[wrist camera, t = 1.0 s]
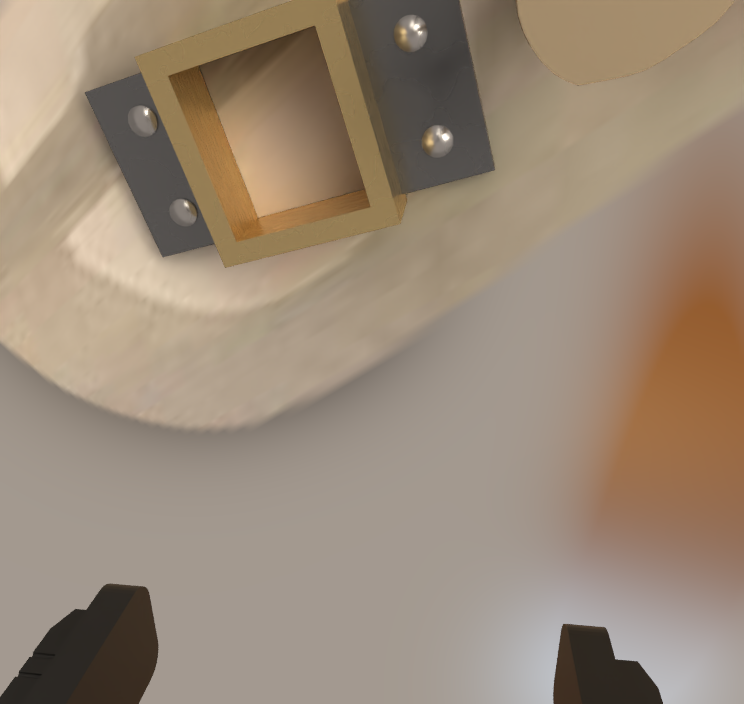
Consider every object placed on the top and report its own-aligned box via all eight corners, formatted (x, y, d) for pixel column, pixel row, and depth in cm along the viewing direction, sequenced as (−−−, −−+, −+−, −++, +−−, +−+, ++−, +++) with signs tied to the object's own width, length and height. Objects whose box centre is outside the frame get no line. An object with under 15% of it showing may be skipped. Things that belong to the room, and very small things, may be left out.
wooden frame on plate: (88, 77, 35) (46, 88, 32) (448, -51, 30) (445, -54, 27) (173, 260, 40) (146, 287, 37) (497, 176, 35) (499, 198, 32)
